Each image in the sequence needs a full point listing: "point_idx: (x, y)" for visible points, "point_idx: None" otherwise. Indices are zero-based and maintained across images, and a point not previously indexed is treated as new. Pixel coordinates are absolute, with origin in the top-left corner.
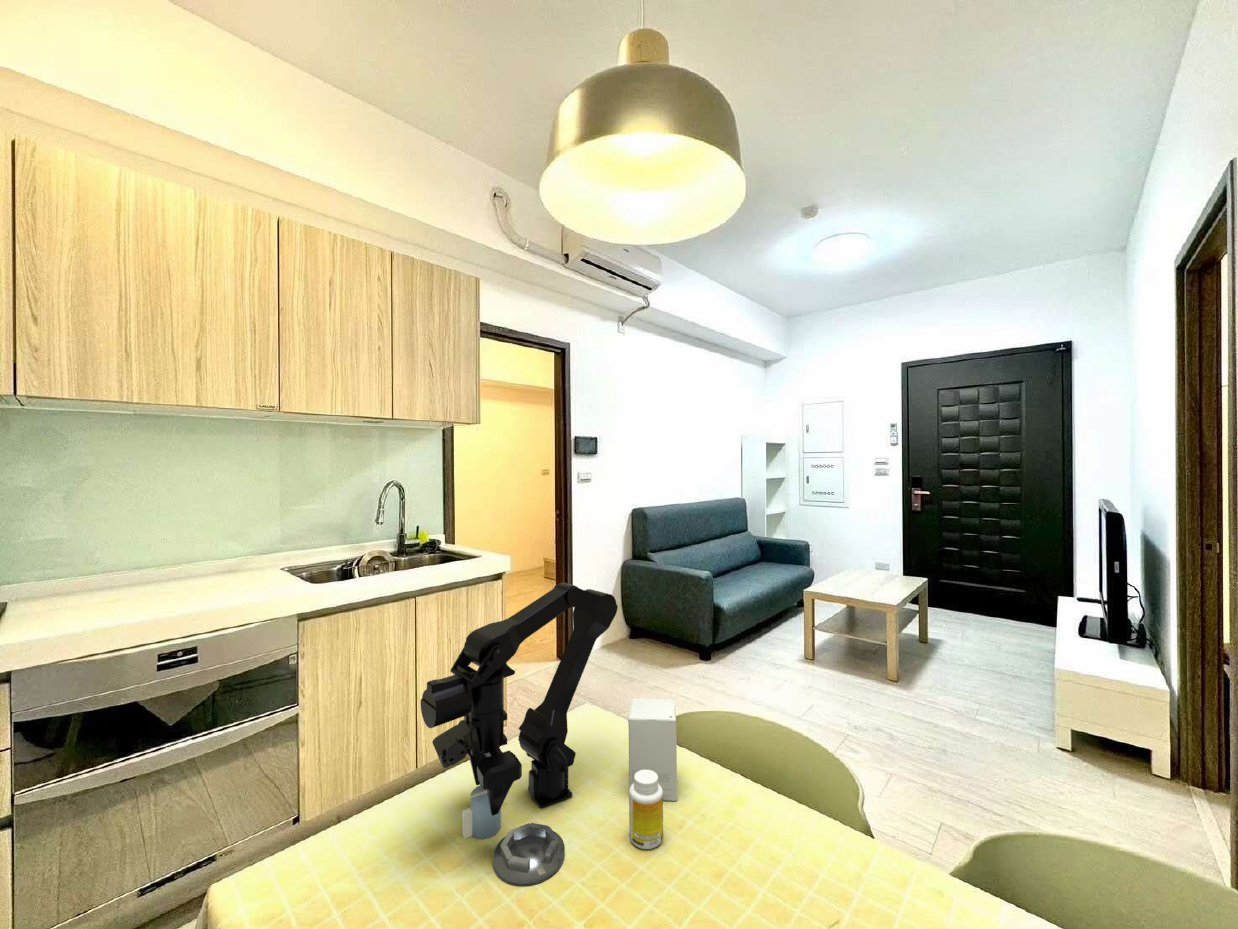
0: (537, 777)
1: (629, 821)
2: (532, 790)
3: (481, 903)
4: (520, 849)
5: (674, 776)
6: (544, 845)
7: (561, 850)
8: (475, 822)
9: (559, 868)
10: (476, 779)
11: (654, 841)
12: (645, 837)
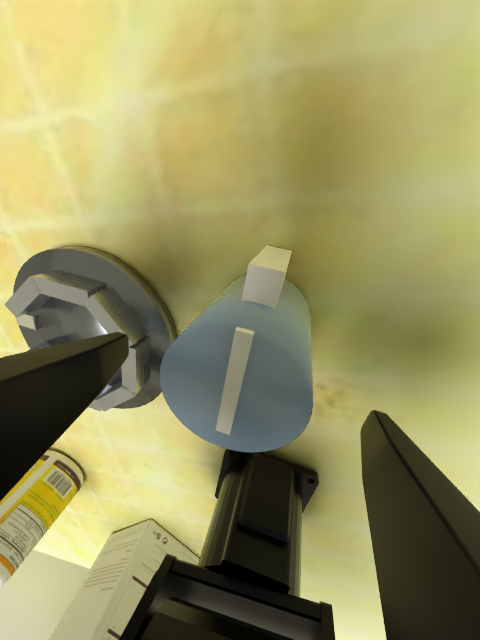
0: (233, 525)
1: (39, 486)
2: (260, 477)
3: (13, 165)
4: (102, 329)
5: (81, 585)
6: None
7: None
8: (230, 290)
9: None
10: (380, 435)
11: None
12: None
